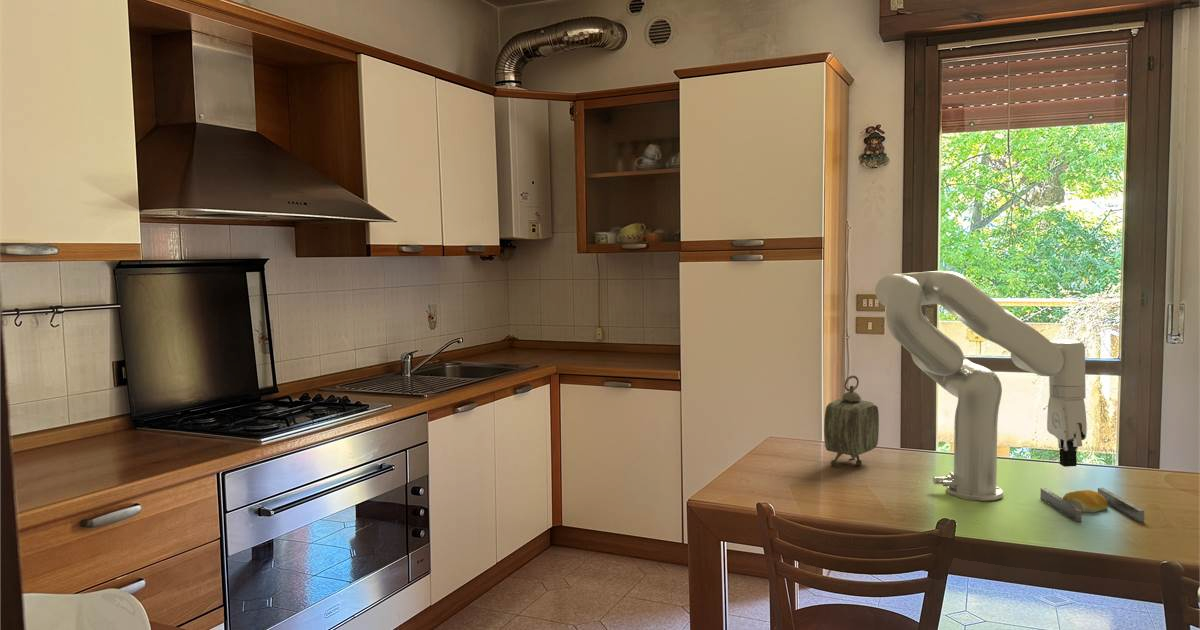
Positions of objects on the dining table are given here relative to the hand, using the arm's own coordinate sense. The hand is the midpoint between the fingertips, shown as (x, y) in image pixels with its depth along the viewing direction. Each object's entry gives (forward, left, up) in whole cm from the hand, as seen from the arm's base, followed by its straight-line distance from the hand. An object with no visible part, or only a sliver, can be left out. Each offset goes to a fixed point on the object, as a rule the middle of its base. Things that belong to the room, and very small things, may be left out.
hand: (1068, 465), depth 195 cm
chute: (-1, -12, -7) cm, 14 cm away
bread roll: (-1, -10, -7) cm, 12 cm away
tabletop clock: (-45, +26, -7) cm, 52 cm away
